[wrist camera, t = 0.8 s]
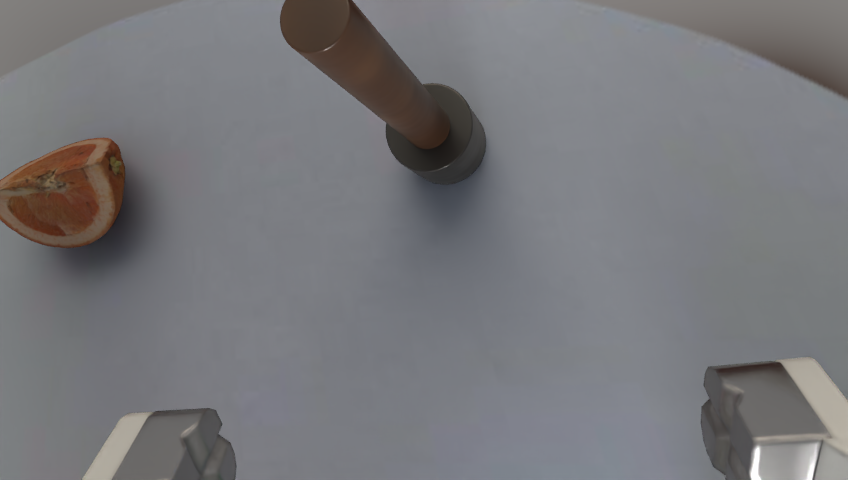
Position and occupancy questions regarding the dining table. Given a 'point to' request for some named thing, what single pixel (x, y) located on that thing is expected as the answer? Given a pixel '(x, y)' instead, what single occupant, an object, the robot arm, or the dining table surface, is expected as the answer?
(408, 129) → the brown and grey rod
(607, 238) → the dining table surface
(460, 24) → the dining table surface
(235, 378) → the dining table surface
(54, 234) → the fruit slice
